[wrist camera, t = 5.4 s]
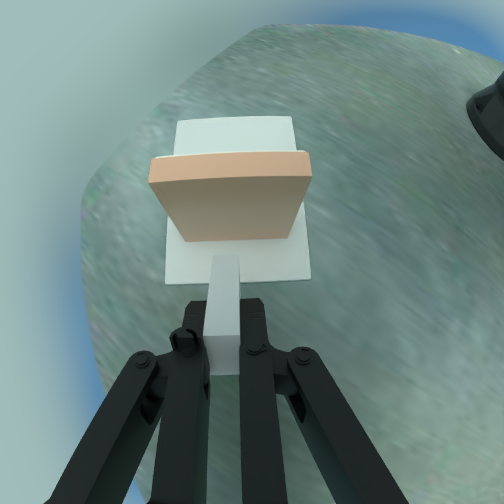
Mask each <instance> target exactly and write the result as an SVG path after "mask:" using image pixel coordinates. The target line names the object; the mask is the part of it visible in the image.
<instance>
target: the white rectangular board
mask: <svg viewBox="0 0 504 504" xmlns="http://www.w3.org/2000/svg"><path fill="white" fill-rule="evenodd" d="M257 150H296V144H295V137H294V131H293V125H292V119H291V116H247V117H222V118H206V119H194V120H183V121H178V123H177V130H176V138H175V146H174V154H173V155H182V154H194V153H209V152H227V151H257ZM230 254H239V271H240V283H256V282H279V281H300V280H311V270H310V259H309V248H308V238H307V229H306V220H305V211H304V203H303V201H302V203H301V206H300V208H299V211H298V213H297V216H296V218H295V221H294V223H293V226H292V228H291V231H290V233H289V236H288V238H283V239H253V240H226V241H200V242H185V240H184V239H183V237H182V236H181V234H180V233H179V231H178V230H177V228H176V226H175V225H174V223H173V222H172V220H171V219H170V217H169V216H168V224H167V243H166V271H165V284H166V285H192V284H209V282H210V274H211V267H212V260H213V255H230Z"/></svg>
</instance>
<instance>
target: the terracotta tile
mask: <svg viewBox="0 0 504 504" xmlns="http://www.w3.org/2000/svg"><path fill="white" fill-rule="evenodd" d="M311 178H312V170H311V164H310V158H309V152H305V151H304V150H257V151H227V152H209V153H194V154H182V155H171V156H161V157H156V158H155V159H151V166H150V173H149V181H148V183H149V185H150V187H151V188H152V190H153V192H154V193H155V195H156V196H157V198H158V200H159V201H160V203H161V204H162V206H163V208H164V209H165V211H166V212H167V214H168V216H169V217H170V219H171V220H172V222H173V223H174V225H175V226H176V228H177V230H178V231H179V233H180V234H181V236H182V237H183V239H184V240H185V242H200V241H226V240H253V239H283V238H288V236H289V233H290V231H291V228H292V226H293V223H294V221H295V218H296V216H297V213H298V211H299V208H300V206H301V203H302V201H303V198H304V196H305V193H306V191H307V188H308V186H309V183H310V181H311Z"/></svg>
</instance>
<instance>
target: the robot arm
mask: <svg viewBox="0 0 504 504" xmlns="http://www.w3.org/2000/svg"><path fill="white" fill-rule="evenodd" d="M467 110H468V114H469V116H470V119H471V121H472V123H473V125H474V126H475V128H476V130H477V131H478V133H479V134H480V135H481V137H482V138H483V139H484V141H485V142H486V143H487V144H488V145H489V147H490V148H491V149H492V150H493V151H494V152H495V153H496V154H497V155H499V156H500V157H501V158H502V159H504V71H503V73H502V74H501V75H500V76H499V78H498V79H497V80H496V82H495V83H494V84H493V85H491V86H489V87H487V88H485V89H483V90H481V91H479V92H477V93H475V94H474V95H473V96H472V97H471V98H470V100H469V101H468V103H467ZM169 338H170V341H171V345H172V348H173V351H171V352H169V353H167V354H163V355H159V356H155V355H154V354H153V353H151V352H149V351H139V352H136V353H135V354H133V355H132V356H131V357H130V358H129V360H128V361H127V363H126V365H125V366H124V368H123V369H122V371H121V373H120V374H119V376H118V378H117V379H116V381H115V382H114V384H113V386H112V387H111V389H110V391H109V392H108V394H107V396H106V397H105V399H104V401H103V402H102V404H101V406H100V408H99V409H98V411H97V413H96V414H95V416H94V418H93V420H92V421H91V423H90V425H89V427H88V428H87V430H86V432H85V434H84V436H83V437H82V439H81V441H80V442H79V444H78V446H77V448H76V450H75V452H74V454H73V455H72V457H71V459H70V461H69V463H68V464H67V467H66V468H65V470H64V472H63V474H62V476H61V478H60V480H59V482H58V484H57V485H56V487H55V490H54V491H53V493H52V495H51V497H50V499H49V500H47V501H46V502H45V503H44V504H122V503H123V500H124V498H125V496H126V493H127V491H128V489H129V487H130V484H131V482H132V480H133V478H134V475H135V473H136V471H137V469H138V466H139V464H140V462H141V460H142V457H143V455H144V453H145V451H146V448H147V446H148V444H149V442H150V440H151V437H152V435H153V433H154V431H155V428H156V426H157V424H158V422H159V420H160V417H161V423H160V429H159V436H158V443H157V450H156V458H155V466H154V474H153V483H152V492H151V498H150V501H149V502H148V503H147V504H206V488H207V452H208V426H209V405H210V386H211V384H210V380H209V374H211V375H239V384H240V433H241V470H242V500H243V504H288V501H287V492H286V483H285V474H284V464H283V455H282V446H281V437H280V429H279V420H278V411H277V402H276V394H275V393H277V394H282V395H285V398H286V400H287V402H288V404H289V407H290V409H291V411H292V413H293V415H294V417H295V420H296V422H297V424H298V426H299V428H300V430H301V432H302V434H303V437H304V439H305V441H306V443H307V445H308V447H309V449H310V451H311V453H312V455H313V458H314V460H315V462H316V464H317V466H318V468H319V470H320V472H321V474H322V476H323V478H324V480H325V482H326V484H327V486H328V488H329V490H330V492H331V494H332V496H333V498H334V500H335V502H336V504H409V503H408V501H407V500H406V498H405V496H404V495H403V493H402V491H401V490H400V488H399V486H398V485H397V483H396V482H395V480H394V478H393V477H392V475H391V473H390V472H389V470H388V468H387V467H386V465H385V463H384V462H383V460H382V458H381V457H380V455H379V453H378V452H377V450H376V449H375V447H374V445H373V444H372V442H371V440H370V439H369V437H368V435H367V434H366V432H365V430H364V429H363V427H362V426H361V424H360V422H359V421H358V419H357V417H356V416H355V414H354V412H353V411H352V409H351V408H350V406H349V404H348V403H347V401H346V399H345V398H344V396H343V394H342V393H341V391H340V389H339V388H338V386H337V385H336V383H335V381H334V380H333V378H332V376H331V375H330V373H329V371H328V370H327V368H326V367H325V365H324V363H323V362H322V360H321V358H320V357H319V355H318V354H317V353H316V352H315V350H313V349H311V348H308V347H297V348H295V349H293V350H291V352H284V351H280V350H277V349H275V348H274V347H273V346H271V345H270V343H269V341H268V336H267V327H266V319H265V310H264V304H263V303H262V301H261V300H260V299H259V298H252V299H241V289H240V271H239V254H230V255H213V260H212V267H211V274H210V282H209V289H208V297H207V301H191V302H190V303H189V304H188V305H187V307H186V309H185V314H184V319H183V324H182V327H181V328H178V329H176V330H174V331H173V332H172V333H171V335H170V337H169ZM161 415H162V416H161Z"/></svg>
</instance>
